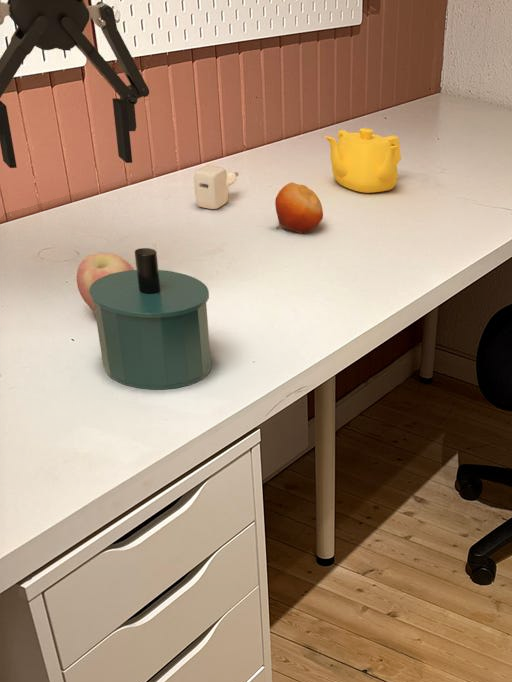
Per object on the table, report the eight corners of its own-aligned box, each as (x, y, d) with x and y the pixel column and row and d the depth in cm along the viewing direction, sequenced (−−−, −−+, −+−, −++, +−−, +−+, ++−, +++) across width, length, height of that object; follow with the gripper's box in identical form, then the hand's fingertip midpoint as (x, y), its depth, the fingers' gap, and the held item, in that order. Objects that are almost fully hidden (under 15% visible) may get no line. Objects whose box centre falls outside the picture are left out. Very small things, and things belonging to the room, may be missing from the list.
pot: (89, 353, 119) (78, 281, 113) (187, 338, 125) (180, 269, 119) (126, 397, 112) (115, 322, 106) (227, 378, 118) (223, 307, 112)
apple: (70, 313, 127) (59, 252, 122) (120, 300, 132) (112, 241, 127) (105, 333, 124) (96, 271, 118) (155, 319, 128) (149, 259, 123)
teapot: (323, 191, 179) (323, 133, 172) (335, 171, 189) (336, 116, 182) (395, 201, 179) (398, 143, 172) (404, 181, 189) (407, 126, 183)
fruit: (274, 207, 164) (297, 168, 159) (312, 238, 166) (335, 201, 161) (257, 220, 158) (280, 181, 153) (296, 253, 160) (320, 215, 155)
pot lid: (74, 285, 114) (66, 237, 110) (183, 272, 120) (178, 226, 117) (114, 329, 106) (107, 279, 102) (228, 313, 112) (225, 265, 109)
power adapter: (218, 190, 172) (216, 155, 168) (244, 194, 172) (242, 159, 168) (192, 207, 164) (189, 170, 160) (219, 212, 163) (216, 175, 160)
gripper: (-82, -55, 93) (-34, 176, 107) (167, -39, 106) (181, 166, 120) (-99, -68, 97) (-51, 156, 111) (142, -51, 110) (158, 149, 124)
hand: (69, 162), depth 115 cm, fingers open, 13 cm apart
